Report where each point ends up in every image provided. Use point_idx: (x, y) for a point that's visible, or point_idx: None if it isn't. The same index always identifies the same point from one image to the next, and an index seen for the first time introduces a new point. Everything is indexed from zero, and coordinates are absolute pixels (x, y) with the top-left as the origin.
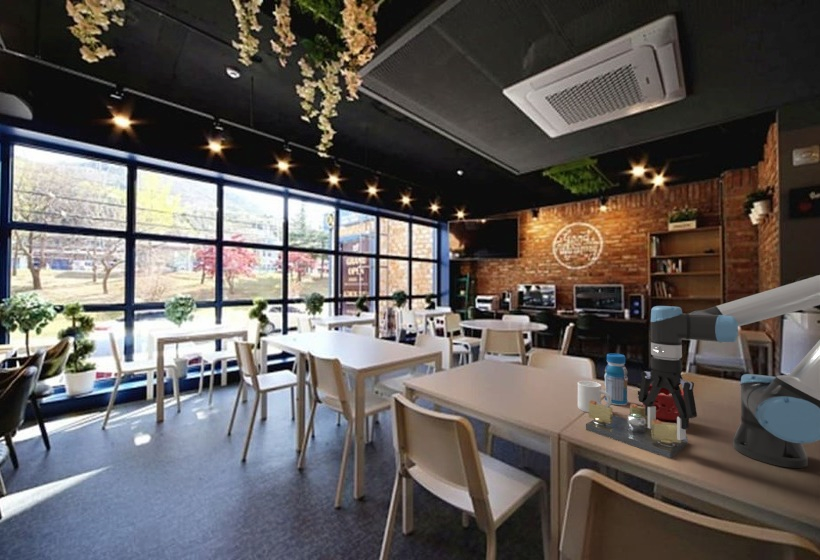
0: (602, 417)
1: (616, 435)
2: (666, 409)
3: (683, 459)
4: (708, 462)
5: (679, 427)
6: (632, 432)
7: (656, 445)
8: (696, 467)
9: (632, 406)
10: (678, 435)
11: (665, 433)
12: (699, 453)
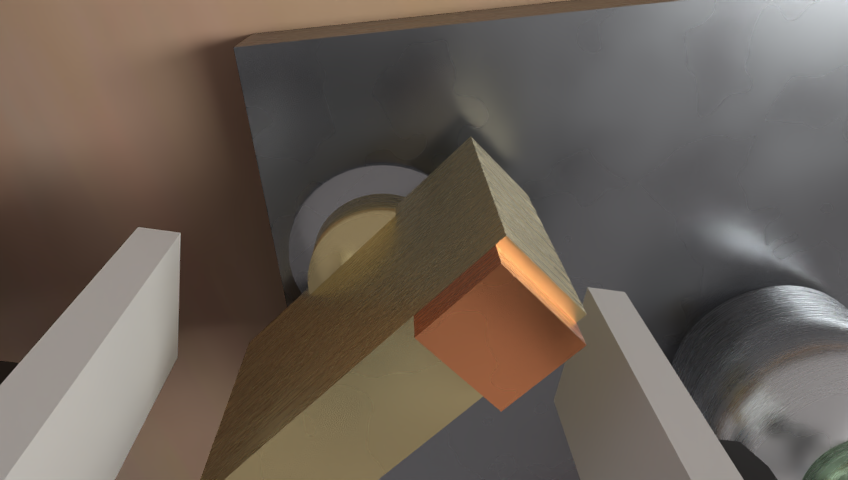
0: None
1: None
2: None
3: (179, 152)
4: (38, 298)
5: (46, 335)
6: (769, 225)
7: (420, 86)
8: (7, 70)
9: None
10: (135, 261)
11: (363, 280)
12: (187, 417)
